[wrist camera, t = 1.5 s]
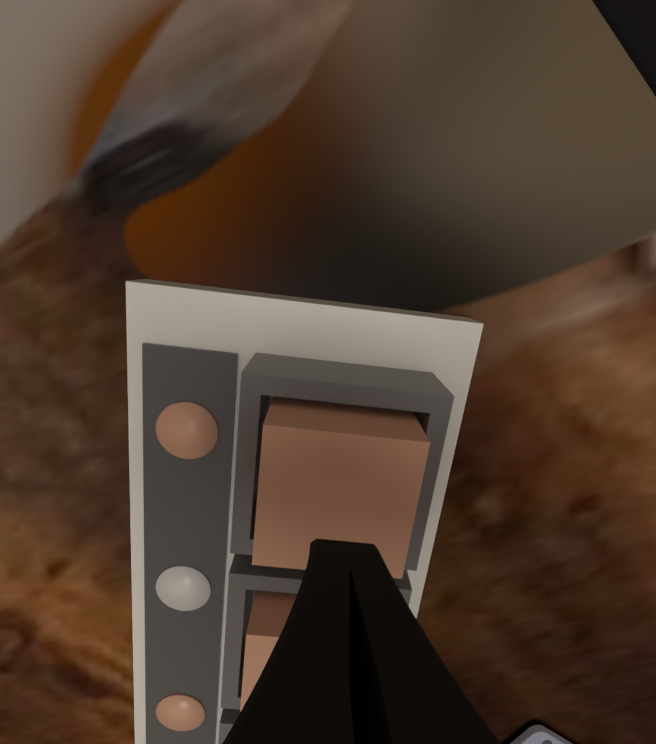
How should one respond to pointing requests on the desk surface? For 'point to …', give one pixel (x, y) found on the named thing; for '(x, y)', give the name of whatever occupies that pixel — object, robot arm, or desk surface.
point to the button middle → (263, 634)
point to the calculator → (634, 32)
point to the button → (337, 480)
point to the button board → (252, 466)
